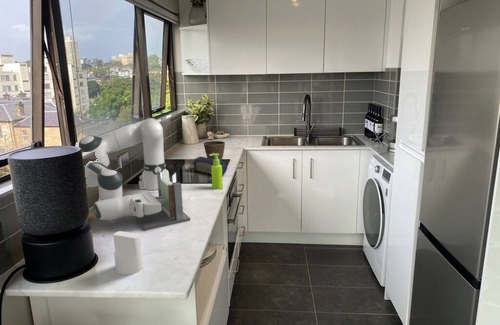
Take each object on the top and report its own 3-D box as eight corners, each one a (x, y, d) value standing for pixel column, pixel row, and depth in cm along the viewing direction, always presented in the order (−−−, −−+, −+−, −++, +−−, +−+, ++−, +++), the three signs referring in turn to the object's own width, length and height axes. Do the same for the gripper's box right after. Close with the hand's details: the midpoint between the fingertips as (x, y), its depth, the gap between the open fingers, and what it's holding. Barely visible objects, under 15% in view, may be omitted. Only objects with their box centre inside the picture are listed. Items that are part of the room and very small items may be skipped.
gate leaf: (161, 206, 173) (159, 177, 169) (164, 205, 173) (162, 176, 170) (171, 217, 159) (168, 185, 156) (174, 216, 160) (172, 185, 156)
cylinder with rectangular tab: (110, 272, 118) (106, 238, 116) (128, 259, 127) (124, 227, 124) (132, 277, 115) (129, 242, 112) (149, 263, 123) (146, 230, 121)
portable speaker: (191, 171, 241) (190, 157, 239) (202, 168, 249) (201, 154, 246) (218, 178, 226) (217, 162, 223) (229, 174, 233) (228, 159, 231)
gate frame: (130, 211, 171) (127, 174, 167) (171, 204, 181) (169, 168, 176) (144, 230, 150) (141, 188, 146) (190, 220, 160) (188, 180, 155)
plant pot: (216, 168, 249) (216, 145, 245) (200, 165, 257) (199, 143, 253) (229, 163, 261) (229, 142, 257) (213, 161, 269) (212, 140, 265)
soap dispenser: (209, 187, 206) (207, 153, 202) (220, 186, 209) (219, 152, 204) (212, 190, 201) (210, 155, 196) (224, 188, 204) (222, 154, 199)
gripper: (130, 204, 167) (159, 199, 173) (140, 218, 149) (173, 212, 156) (128, 191, 165) (158, 186, 172) (139, 204, 148) (172, 198, 155)
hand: (165, 199), depth 164 cm, fingers closed, pressing on gate leaf
